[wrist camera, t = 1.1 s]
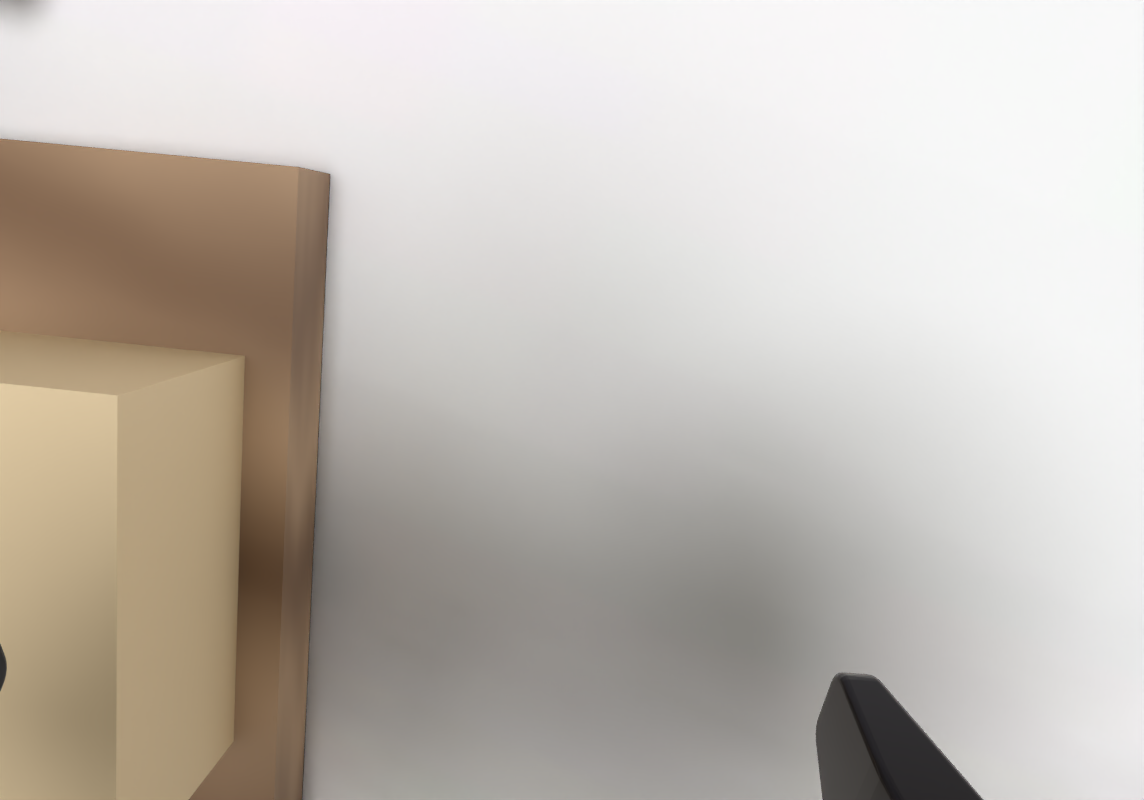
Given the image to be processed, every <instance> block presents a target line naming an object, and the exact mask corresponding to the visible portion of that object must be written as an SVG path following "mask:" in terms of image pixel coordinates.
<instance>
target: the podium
mask: <svg viewBox="0 0 1144 800" xmlns="http://www.w3.org/2000/svg"><path fill="white" fill-rule="evenodd" d="M329 184H330V174H327V173H323V172H318V171H314V170H309V169H305V168H300V167H292V166H281V165H271V164H260V163H250V162H239V161H229V160H218V159H208V158H197V157H187V156H176V155H166V154H155V153H145V152H134V151H124V150H113V149H103V148H92V147H82V146H71V145H61V144H50V143H40V142H29V141H19V140H8V139H0V331H9V332H19V333H28V334H38V335H48V336H57V337H67V338H77V339H86V340H96V341H106V342H115V343H125V344H135V345H144V346H154V347H164V348H174V349H183V350H193V351H203V352H212V353H222V354H232V355H241V356H245V369H244V403H243V438H242V472H241V507H240V541H239V575H238V610H237V644H236V679H235V713H234V742H233V743H232V744H231V745H230V747H229V748H228V749H227V751H226V752H225V753H224V754H223V756H222V757H221V758H220V760H219V761H218V762H217V764H216V765H215V766H214V767H213V769H212V770H211V771H210V773H209V774H208V775H207V776H206V778H205V779H204V780H203V782H202V783H201V784H200V786H199V787H198V788H197V789H196V791H195V792H194V793H193V795H192V796H191V797H190V798H189V800H302V787H303V765H304V742H305V720H306V698H307V675H308V653H309V631H310V608H311V586H312V564H313V541H314V519H315V497H316V474H317V452H318V430H319V407H320V385H321V363H322V340H323V318H324V296H325V273H326V251H327V229H328V206H329Z"/></svg>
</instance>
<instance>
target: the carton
mask: <svg viewBox="0 0 1144 800" xmlns="http://www.w3.org/2000/svg"><path fill="white" fill-rule="evenodd" d="M244 369H245V356H241V355H232V354H222V353H212V352H203V351H193V350H183V349H174V348H164V347H154V346H144V345H135V344H125V343H115V342H106V341H96V340H86V339H77V338H67V337H57V336H48V335H38V334H28V333H19V332H9V331H0V644H1V646H2V649H3V652H4V654H5V657H6V662H7V672H6V677H5V681H4V684H3V686H2V689H1V691H0V800H189V798H190V797H191V796H192V795H193V793H194V792H195V791H196V789H197V788H198V787H199V786H200V784H201V783H202V782H203V780H204V779H205V778H206V776H207V775H208V774H209V773H210V771H211V770H212V769H213V767H214V766H215V765H216V764H217V762H218V761H219V760H220V758H221V757H222V756H223V754H224V753H225V752H226V751H227V749H228V748H229V747H230V745H231V744H232V743H233V742H234V713H235V679H236V644H237V610H238V575H239V541H240V507H241V472H242V438H243V403H244Z"/></svg>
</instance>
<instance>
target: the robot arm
mask: <svg viewBox="0 0 1144 800" xmlns="http://www.w3.org/2000/svg"><path fill="white" fill-rule="evenodd" d="M6 672H7V662H6V657H5V654H4V652H3V649H2V646H1V644H0V691H1V689H2V686H3V684H4V681H5V677H6ZM816 746H817V754H818V763H819V772H820V780H821V789H822V798H823V800H983V799H982V797H981V796H980V795H979V794H978V793H977V792H976V791H975V789H974V788H973V787H972V786H971V785H970V784H969V783H968V781H967V780H966V779H965V778H964V777H963V776H962V774H961V773H960V772H959V771H958V770H957V769H956V768H955V766H954V765H953V764H952V763H951V762H950V761H949V759H948V758H947V757H946V756H945V755H944V754H943V753H942V751H941V750H940V749H939V748H938V747H937V746H936V745H935V743H934V742H933V741H932V740H931V739H930V738H929V736H928V735H927V734H926V733H925V732H924V731H923V730H922V728H921V727H920V726H919V725H918V724H917V723H916V721H915V720H914V719H913V718H912V717H911V716H910V715H909V713H908V712H907V711H906V710H905V709H904V708H903V707H902V705H901V704H900V703H899V702H898V701H897V700H896V698H895V697H894V696H893V695H892V694H891V693H890V692H889V690H888V689H887V688H886V687H885V686H884V685H883V683H882V682H881V681H880V680H879V679H877V678H876V677H874V676H872V675H868V674H856V673H838V674H837V675H836V676H835V677H834V678H833V680H832V682H831V685H830V687H829V690H828V693H827V696H826V698H825V701H824V704H823V706H822V709H821V712H820V715H819V717H818V721H817V726H816Z"/></svg>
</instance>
